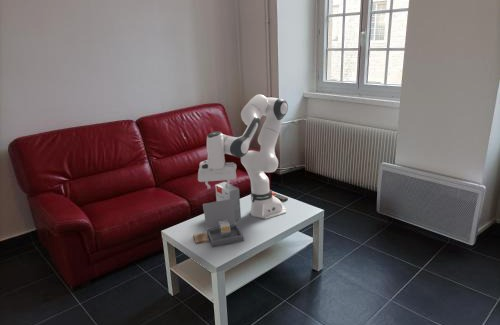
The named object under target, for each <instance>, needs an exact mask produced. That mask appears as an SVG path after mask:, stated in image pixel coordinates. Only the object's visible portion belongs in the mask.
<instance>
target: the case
mask: <svg viewBox="0 0 500 325" xmlns="http://www.w3.org/2000/svg"><path fill="white" fill-rule="evenodd" d="M230 232H231V238H226V239H221V237H220V235H219V227H215V228H210V229H206V234H207V236H208V239H209V242H210V245H211V247H212V248H216V247H220V246H226V245H231V244H235V243H240V242H244V241H245V239H244V238H245V237H244V234H243V233H242V231H241V229H240V228H239V225H238V224H231V225H230Z"/></svg>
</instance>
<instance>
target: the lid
mask: <svg viewBox="0 0 500 325" xmlns="http://www.w3.org/2000/svg"><path fill="white" fill-rule="evenodd" d="M202 210H203V215H204V222H205V227H206V230H210V229H216V228H219V224H218V221H224V220H228V222H229V224H230V225H237V220H236V219H235V212H234V206H233V200H232V199H229V200H223V201H212V202H207V203H202Z"/></svg>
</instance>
